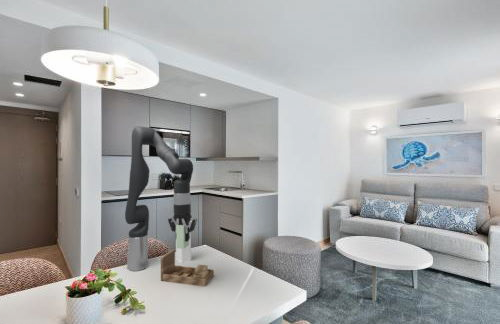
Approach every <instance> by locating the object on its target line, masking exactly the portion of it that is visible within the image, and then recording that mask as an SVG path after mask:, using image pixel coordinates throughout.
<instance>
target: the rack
mask: <svg viewBox="0 0 500 324" xmlns="http://www.w3.org/2000/svg"><path fill="white" fill-rule="evenodd" d="M195 269H196V267H192V266H183V265H176V249H171V250H170V251H169V252H167V253H166V254H164V255H162V256H160V281H161V282H166V283H172V284H173V283H175V284H181V285H182V284H183V285H190V286H198V287H206V286H207V285H208V284H209V282H210V281H211V280H212V278H214V276H215V273H214V272H215V271H214V270H215V269H213V268H208V271H209V274H208V275H207V276H206V278H205V279H202V278H194V275H195Z"/></svg>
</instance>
